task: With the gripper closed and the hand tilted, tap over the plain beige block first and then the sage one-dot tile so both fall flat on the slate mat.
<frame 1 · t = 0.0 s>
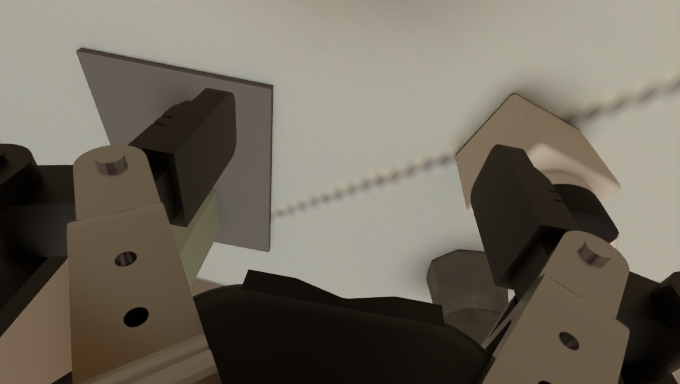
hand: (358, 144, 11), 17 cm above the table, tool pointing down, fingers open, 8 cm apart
one-dot tile: (207, 208, 39), point 1 cm above the table, touching slate mat
slate mat: (195, 169, 36), on the table
coffeepot: (473, 270, 42), on the table
medicine bottle: (513, 142, 30), on the table
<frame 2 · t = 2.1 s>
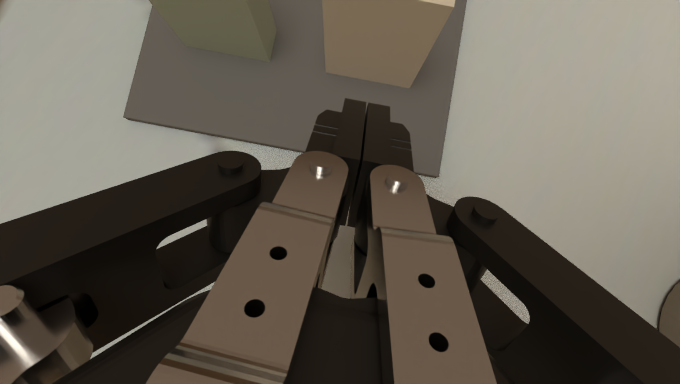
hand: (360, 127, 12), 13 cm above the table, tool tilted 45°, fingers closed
plain beige block: (370, 64, 24), point 1 cm above the table, touching slate mat
one-dot tile: (231, 38, 24), point 1 cm above the table, touching slate mat
slate mat: (304, 42, 25), on the table
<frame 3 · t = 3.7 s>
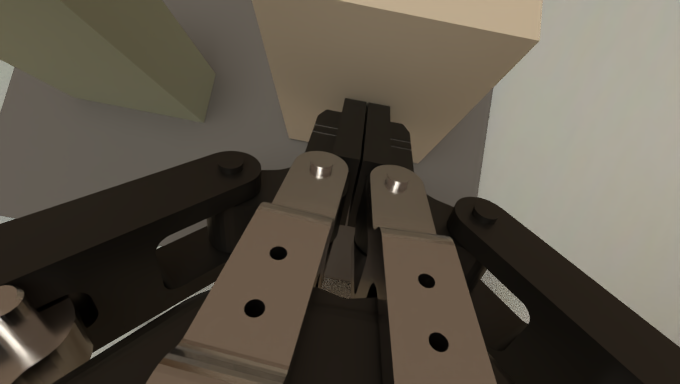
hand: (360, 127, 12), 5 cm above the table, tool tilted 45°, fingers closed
plain beige block: (358, 126, 16), point 1 cm above the table, tilted 5°, touching gripper, slate mat
one-dot tile: (145, 85, 16), point 1 cm above the table, touching slate mat
slate mat: (259, 91, 17), on the table
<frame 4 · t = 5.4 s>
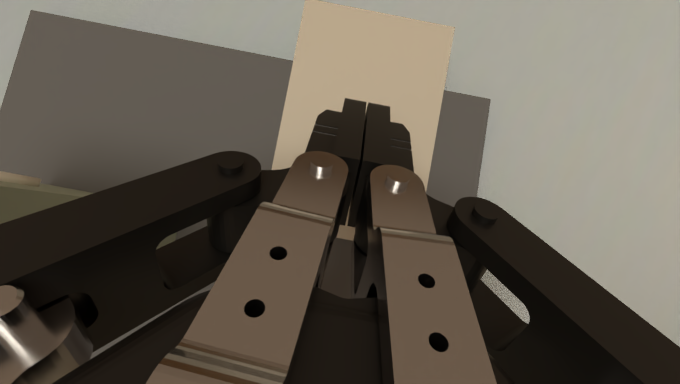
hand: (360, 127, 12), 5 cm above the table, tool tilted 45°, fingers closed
plain beige block: (337, 235, 14), point 2 cm above the table, tilted 87°, touching slate mat
one-dot tile: (108, 223, 15), point 1 cm above the table, touching slate mat
slate mat: (229, 222, 16), on the table
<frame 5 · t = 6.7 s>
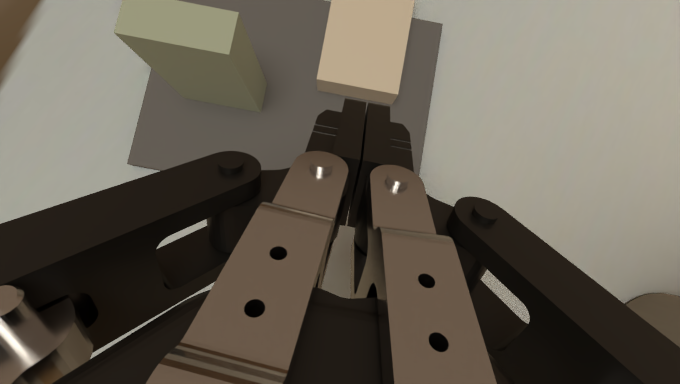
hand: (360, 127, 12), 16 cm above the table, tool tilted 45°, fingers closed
plain beige block: (356, 92, 26), point 2 cm above the table, tilted 87°, touching slate mat
one-dot tile: (225, 90, 27), point 1 cm above the table, touching slate mat
slate mat: (292, 93, 28), on the table
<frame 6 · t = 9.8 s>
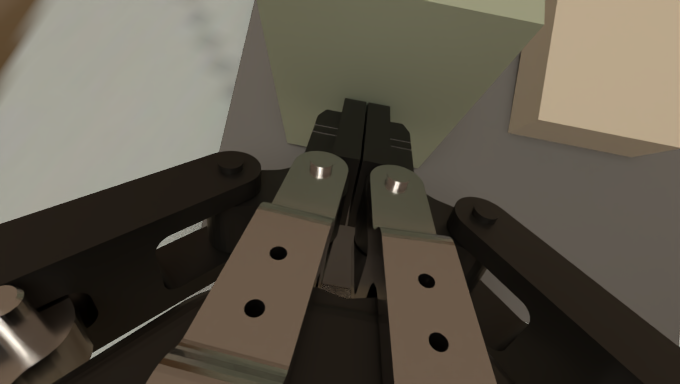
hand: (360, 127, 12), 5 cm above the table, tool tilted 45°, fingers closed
plain beige block: (588, 139, 15), point 2 cm above the table, tilted 87°, touching slate mat
one-dot tile: (357, 131, 16), point 1 cm above the table, tilted 9°, touching slate mat
slate mat: (460, 136, 17), on the table
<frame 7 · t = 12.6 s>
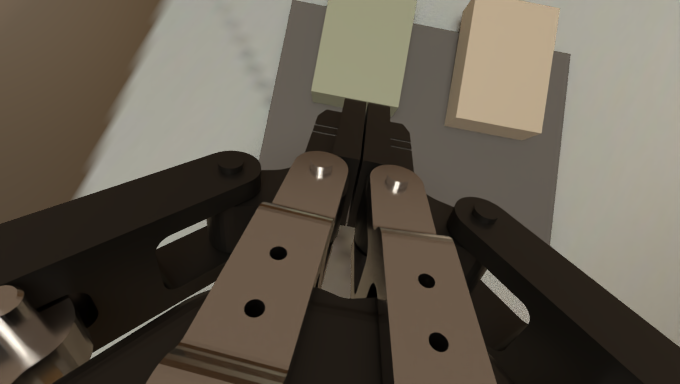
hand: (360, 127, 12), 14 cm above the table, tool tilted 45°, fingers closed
plain beige block: (490, 129, 25), point 2 cm above the table, tilted 87°, touching slate mat
one-dot tile: (353, 104, 25), point 2 cm above the table, tilted 87°, touching slate mat
slate mat: (415, 128, 26), on the table
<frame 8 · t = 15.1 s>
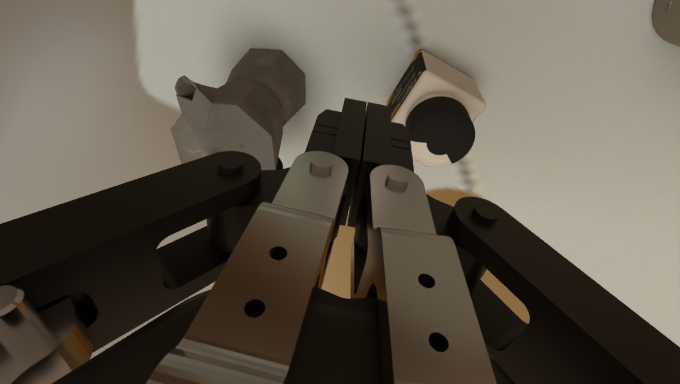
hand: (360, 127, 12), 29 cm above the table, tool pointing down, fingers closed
coffeepot: (274, 93, 42), on the table
medicine bottle: (428, 90, 40), on the table
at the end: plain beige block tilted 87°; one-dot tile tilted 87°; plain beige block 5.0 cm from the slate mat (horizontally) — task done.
